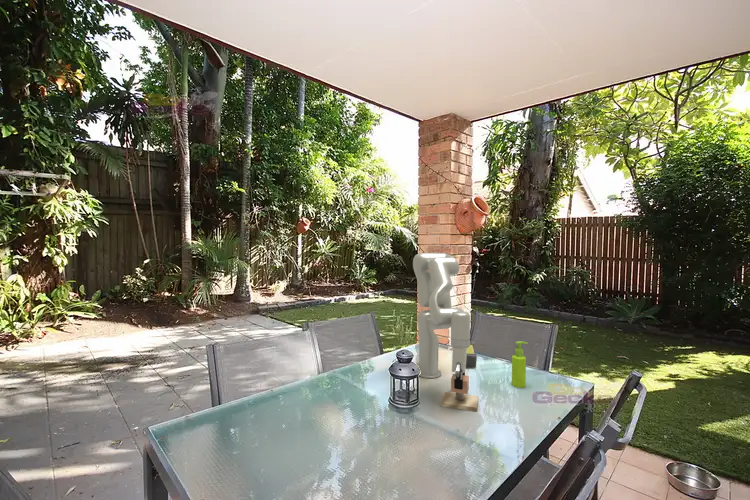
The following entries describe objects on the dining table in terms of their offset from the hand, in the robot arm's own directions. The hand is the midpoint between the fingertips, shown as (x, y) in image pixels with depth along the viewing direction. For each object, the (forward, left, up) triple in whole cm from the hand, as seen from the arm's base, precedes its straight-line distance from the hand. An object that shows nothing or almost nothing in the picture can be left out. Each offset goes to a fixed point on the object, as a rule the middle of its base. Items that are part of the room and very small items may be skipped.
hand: (459, 384), depth 144 cm
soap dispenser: (+24, +28, -8) cm, 38 cm away
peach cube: (0, 0, -2) cm, 2 cm away
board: (0, 0, -8) cm, 8 cm away
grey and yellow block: (-3, +58, -8) cm, 59 cm away
